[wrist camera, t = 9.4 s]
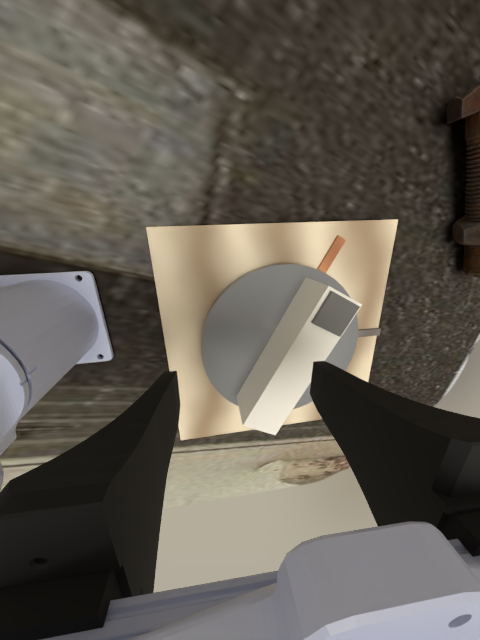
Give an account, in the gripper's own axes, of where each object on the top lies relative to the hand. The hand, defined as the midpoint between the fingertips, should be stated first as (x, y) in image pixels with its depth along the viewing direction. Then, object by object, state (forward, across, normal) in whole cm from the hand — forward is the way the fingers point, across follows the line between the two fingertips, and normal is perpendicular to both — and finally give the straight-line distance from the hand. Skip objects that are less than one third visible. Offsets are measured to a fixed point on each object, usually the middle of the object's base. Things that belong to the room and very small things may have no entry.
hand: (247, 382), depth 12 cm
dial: (+8, -4, +2) cm, 9 cm away
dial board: (+10, -4, +2) cm, 11 cm away
